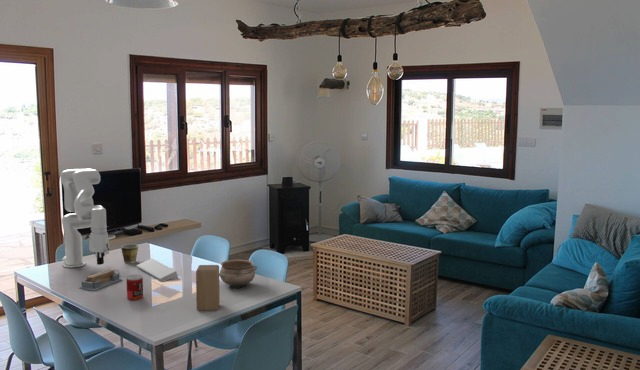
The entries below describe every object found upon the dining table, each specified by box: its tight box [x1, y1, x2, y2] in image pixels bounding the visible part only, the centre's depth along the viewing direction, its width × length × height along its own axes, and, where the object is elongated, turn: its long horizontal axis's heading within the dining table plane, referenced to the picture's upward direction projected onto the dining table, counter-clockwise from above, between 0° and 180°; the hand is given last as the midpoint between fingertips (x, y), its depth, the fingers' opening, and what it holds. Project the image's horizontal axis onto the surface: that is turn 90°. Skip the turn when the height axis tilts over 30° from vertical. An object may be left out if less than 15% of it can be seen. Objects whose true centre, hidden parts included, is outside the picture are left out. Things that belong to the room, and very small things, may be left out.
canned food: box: [126, 274, 144, 301], centre depth 281 cm, size 8×8×11 cm
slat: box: [86, 268, 115, 284], centre depth 303 cm, size 4×16×5 cm, turn 158°
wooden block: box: [195, 264, 220, 312], centre depth 268 cm, size 10×10×20 cm
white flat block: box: [136, 258, 179, 282], centre depth 325 cm, size 34×5×10 cm
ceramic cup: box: [120, 244, 139, 264], centre depth 347 cm, size 13×10×10 cm
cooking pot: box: [219, 258, 258, 288], centre depth 303 cm, size 25×19×12 cm
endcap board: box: [78, 271, 123, 291], centre depth 303 cm, size 10×21×4 cm, turn 158°
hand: (100, 264), depth 302 cm, fingers closed
